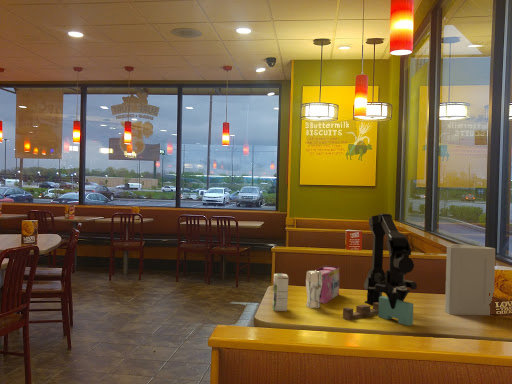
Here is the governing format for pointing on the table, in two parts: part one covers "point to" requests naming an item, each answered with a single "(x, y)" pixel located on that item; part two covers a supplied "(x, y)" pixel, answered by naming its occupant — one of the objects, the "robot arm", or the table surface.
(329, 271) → the gum box
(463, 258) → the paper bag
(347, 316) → the walnut rail
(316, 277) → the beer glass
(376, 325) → the table surface
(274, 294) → the syrup box
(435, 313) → the table surface
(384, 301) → the teal plate
